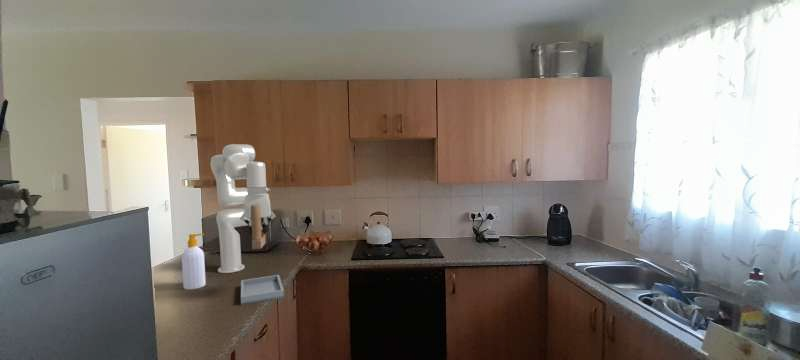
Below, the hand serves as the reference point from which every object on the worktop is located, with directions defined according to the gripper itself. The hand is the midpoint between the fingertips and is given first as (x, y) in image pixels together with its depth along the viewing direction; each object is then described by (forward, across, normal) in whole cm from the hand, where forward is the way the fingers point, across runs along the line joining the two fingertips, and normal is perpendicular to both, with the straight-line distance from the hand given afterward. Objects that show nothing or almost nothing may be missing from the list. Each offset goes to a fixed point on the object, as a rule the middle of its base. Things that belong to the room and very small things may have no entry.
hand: (258, 233), depth 146 cm
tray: (+25, 0, 0) cm, 25 cm away
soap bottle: (+25, +27, -22) cm, 43 cm away
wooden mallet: (+6, 0, 0) cm, 6 cm away
